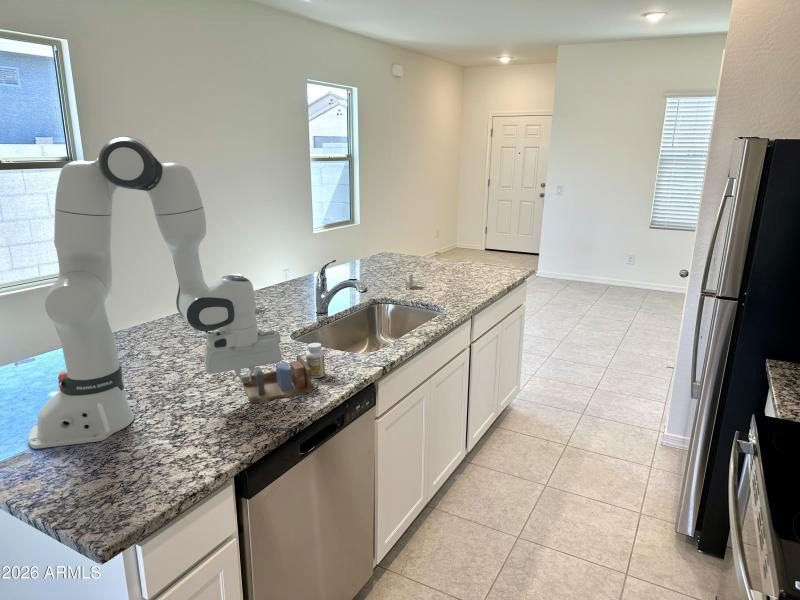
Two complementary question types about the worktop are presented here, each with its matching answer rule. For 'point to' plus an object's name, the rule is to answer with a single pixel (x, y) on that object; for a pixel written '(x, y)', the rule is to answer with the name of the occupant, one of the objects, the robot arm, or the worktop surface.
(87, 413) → the robot arm
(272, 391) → the rack
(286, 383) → the blue block
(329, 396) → the worktop surface
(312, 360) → the supplement bottle
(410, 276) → the architectural model
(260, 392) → the bookend
